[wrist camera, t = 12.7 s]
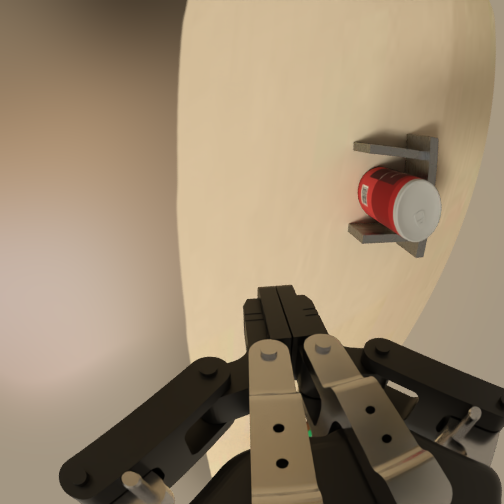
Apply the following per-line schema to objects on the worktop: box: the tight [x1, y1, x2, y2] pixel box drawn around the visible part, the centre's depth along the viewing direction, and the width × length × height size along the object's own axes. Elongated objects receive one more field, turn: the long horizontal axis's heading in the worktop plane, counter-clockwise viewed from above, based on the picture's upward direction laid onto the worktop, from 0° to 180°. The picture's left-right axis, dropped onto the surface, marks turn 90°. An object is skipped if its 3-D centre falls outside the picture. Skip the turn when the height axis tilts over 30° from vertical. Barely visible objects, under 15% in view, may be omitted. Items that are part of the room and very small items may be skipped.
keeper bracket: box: [348, 134, 438, 258], centre depth 36 cm, size 11×18×6 cm, turn 1°
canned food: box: [358, 167, 441, 242], centre depth 34 cm, size 8×8×11 cm
